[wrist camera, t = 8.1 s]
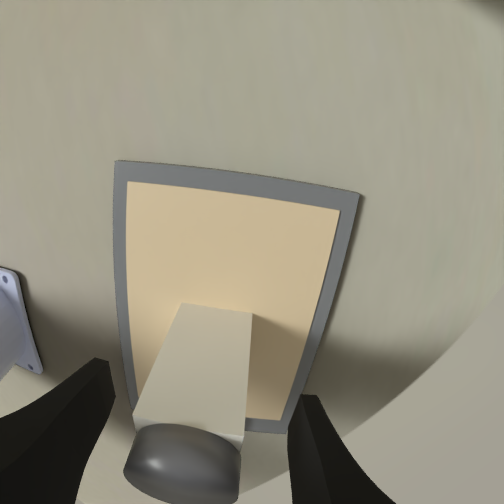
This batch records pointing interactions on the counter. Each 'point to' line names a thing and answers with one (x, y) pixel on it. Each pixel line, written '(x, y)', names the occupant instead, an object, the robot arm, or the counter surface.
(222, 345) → the block with domed cap
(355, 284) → the counter surface
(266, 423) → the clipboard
